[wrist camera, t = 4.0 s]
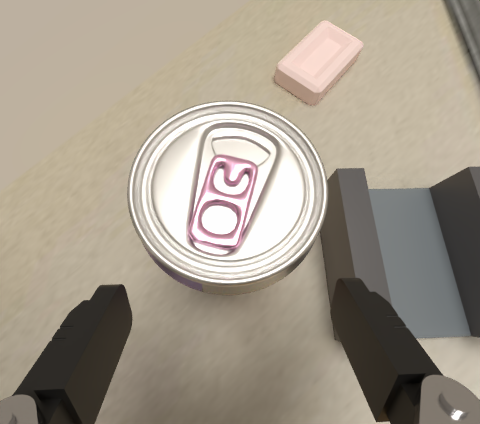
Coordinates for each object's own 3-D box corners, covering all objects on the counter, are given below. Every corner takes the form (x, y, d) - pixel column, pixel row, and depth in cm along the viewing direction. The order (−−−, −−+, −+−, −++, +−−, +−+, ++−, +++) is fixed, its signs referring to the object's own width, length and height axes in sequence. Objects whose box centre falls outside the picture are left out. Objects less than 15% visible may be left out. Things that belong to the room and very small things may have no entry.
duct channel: (484, 332, 20) (562, 344, 15) (335, 339, 20) (368, 353, 15) (441, 192, 24) (494, 166, 19) (315, 194, 23) (337, 168, 19)
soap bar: (356, 60, 29) (367, 40, 27) (311, 109, 27) (319, 92, 24) (317, 37, 30) (325, 15, 28) (271, 82, 28) (274, 63, 25)
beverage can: (184, 284, 21) (80, 259, 6) (205, 215, 22) (162, 75, 8) (256, 303, 20) (319, 323, 6) (272, 232, 22) (348, 119, 8)
